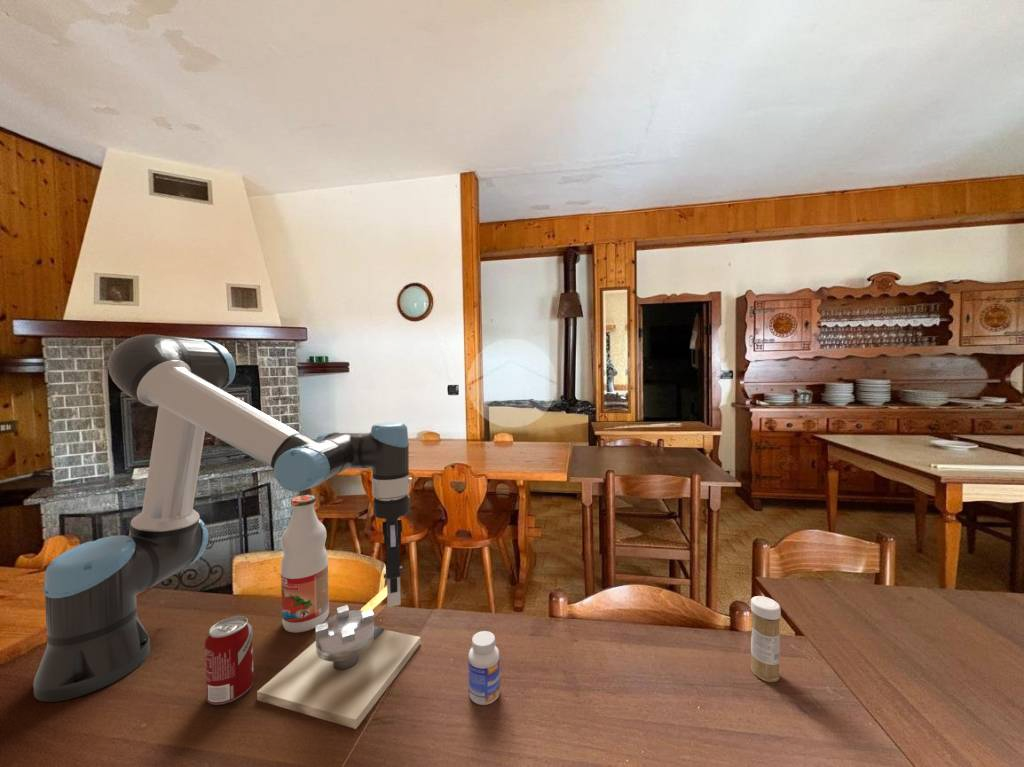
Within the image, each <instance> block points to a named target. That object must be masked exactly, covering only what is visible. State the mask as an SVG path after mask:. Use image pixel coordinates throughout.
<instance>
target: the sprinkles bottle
mask: <svg viewBox="0 0 1024 767" xmlns="http://www.w3.org/2000/svg"><path fill="white" fill-rule="evenodd" d="M781 609H782V608H781V606H780V604H779V603H778V601H775V600H774V599H772V598H770V597H767V596H762V595H757V596H753V597H752V598H751V599H750V610H751V636H750V642H751V643H750V652H751V663H750V669H751V671H752V673H753V674H754V676H756V677H757V678H758V679H760V680H762V681H765V682H767V683H776V682H778V681H779V680H780V661H781V660H780V658H781V655H780V652H781V651H780V647H781V646H780V645H781V640H780V639H781V633H780V619H781V615H782V614H781Z"/></svg>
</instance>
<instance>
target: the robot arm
mask: <svg viewBox="0 0 1024 767" xmlns="http://www.w3.org/2000/svg"><path fill="white" fill-rule="evenodd" d="M107 362H108V365H107V367H108V368H107V369H108V374H109V376H110V378H111V380H112V382H113V383H114V384H115V385H116V386H117V388H119V389H120V390H121V391H122V392H123V393H124V394H126V395H127V396H129V397H131V398H132V399H134V400H136V401H138V402H140V403H141V404H144V405H146V406H147V407H158V408H157V413H156V414H157V415H156V420H155V427H154V434H153V438H152V447H151V452H150V454H151V455H150V458H149V466H148V471H147V478H146V484H145V485H146V486H145V491H144V497H143V504H142V508H141V509H142V510H141V512H139V513H138V514H137V515H135V516H134V517H132V519H131V521H130V525H129V533H128V535H118V534H117V535H109V536H105V537H101V538H98V539H96V540H94V541H93V540H90V541H89V540H88V541H86V542H84V543H81V544H79V545H76V546H74V547H72V548H69V549H67V550H66V551H64V552H62V553H61V554H59V555H57V556H56V557H55V558H53V560H51V562H50V563H48V564H47V567H46V570H45V572H44V584H43V587H42V592H43V594H44V600H45V622H46V623H45V625H46V644H47V645H46V648H45V650H44V653H43V656H42V657H41V658H42V659H41V661H40V664H39V666H38V668H37V671H36V673H35V676H34V678H33V683H32V685H33V696H34V699H36V700H37V701H39V702H43V703H44V702H46V703H53V702H54V703H56V702H64V701H68V700H71V699H76V698H79V697H82V696H85V695H88V694H91V693H93V692H96V691H98V690H101V689H102V688H105V687H107V686H109V685H111V684H114V683H115V682H117V681H119V680H120V679H123V678H124V677H126V676H127V675H129V674H130V673H132V672H133V671H135V670H136V669H137V668H139V666H140V665H142V664H143V663H144V662H145V661H146V659H147V658H148V657H149V655H150V653H151V639H150V636H149V635H148V632H147V631H146V629H145V627H144V625H143V623H142V622H141V620H140V619H139V616H138V612H137V611H138V610H137V607H138V606H137V596H138V595H140V594H141V593H143V592H145V591H147V590H149V589H151V588H152V587H154V586H155V585H157V584H159V583H160V582H163V581H165V580H166V579H169V578H170V577H172V576H174V575H176V574H179V573H181V572H183V571H184V570H186V568H189V566H191V565H192V564H194V563H195V562H196V561H198V560H199V559H200V558H201V557H202V555H203V554H204V552H205V550H206V548H207V546H208V541H209V532H208V528H206V527H205V522H204V521H203V520H202V519H201V517H200V513H199V512H197V511H196V510H195V509H194V501H195V496H196V490H197V484H198V477H199V470H200V465H201V460H202V459H201V458H202V453H203V446H204V440H205V434H206V433H208V434H211V435H212V436H214V437H216V438H217V439H219V440H221V441H223V442H224V443H226V444H228V445H230V446H232V447H234V448H235V449H237V450H239V451H241V452H242V453H244V454H246V455H248V456H250V457H251V458H253V459H255V460H257V461H258V462H261V463H262V464H264V465H266V466H268V467H270V468H272V469H273V473H274V478H275V480H277V482H278V483H279V486H280V487H281V488H283V489H285V490H286V491H290V492H293V493H294V492H295V493H296V492H303V491H307V490H309V489H311V488H316V487H317V486H320V485H321V484H323V483H324V482H325V481H327V480H328V479H330V478H332V477H335V476H337V475H338V474H340V473H342V472H344V471H347V470H350V469H371V473H372V475H371V484H372V488H371V490H372V496H373V499H372V505H373V506H372V509H373V511H372V513H373V516H374V517H375V518H376V519H381V520H382V519H383V520H384V521H382V534H383V546H384V547H386V564H385V565H386V572H387V573H384V574H383V580H384V579H386V586H387V608H389V607H395V606H401V598H402V597H401V571H403V565H400V564H401V562H400V553H401V552H400V546H401V544H402V532H403V523H402V518H400V517H404V516H406V515H407V514H409V512H410V510H411V503H410V502H411V501H410V499H411V498H410V495H409V492H410V483H413V479H412V477H410V474H409V473H410V469H409V468H410V466H409V464H410V460H409V457H410V456H409V454H410V453H409V449H410V443H409V434H408V427H407V425H406V424H405V423H403V422H381V423H375V424H373V425H372V426H371V429H370V430H371V431H370V432H366V433H365V432H364V433H362V432H361V433H360V432H359V433H358V432H355V433H354V432H351V433H350V432H342V433H341V432H334V431H333V432H331V433H321V434H320V435H318V436H317V437H316V439H314V440H313V439H311V438H310V437H308V436H306V435H304V434H302V433H301V432H298V431H296V430H295V429H293V428H291V427H289V426H288V425H287V424H284V423H282V422H281V421H279V420H277V419H275V418H273V417H271V416H270V415H268V414H266V413H265V412H263V411H261V410H259V409H258V408H256V407H254V406H252V405H250V404H248V403H247V402H245V401H243V400H241V399H239V398H238V397H236V396H234V395H232V394H230V393H228V392H227V391H226V390H223V389H226V388H227V387H228V386H229V385H231V384H232V383H233V381H234V379H235V377H236V376H235V375H236V363H235V360H234V357H233V356H232V354H231V353H230V352H229V351H228V349H227V348H226V347H225V346H223V345H222V344H221V343H218V342H216V341H212V340H208V339H203V338H196V337H187V336H186V337H184V336H172V335H162V334H150V333H148V334H140V335H136V336H133V337H130V338H127V339H125V340H123V341H122V342H120V343H119V344H118V345H117V346H116V347H115V348H114V349H113V350H112V352H111V353H110V355H109V358H108V361H107Z"/></svg>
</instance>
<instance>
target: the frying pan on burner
mask: <svg viewBox="0 0 1024 767" xmlns="http://www.w3.org/2000/svg"><path fill="white" fill-rule="evenodd" d="M386 606H387V585H385V587H384V588H383V589H382V590H380V591H379V592H378V593H377V594H376V595H374V597H373V598H371V599H370V600H369V601H368V602H367V603H365V605H364V606H362V607H361V609H358V610H353V609H352V610H350V609H349V608H350V607H349V606H348V604H346V605H343V606H342V605H341V606H339V607H336V614H333V615H331V616H330V617H327V619H326V620H325V621H324V622H323V623H322V624H319V625H316V626H315V628H314V630H315V632H314V633H315V641H316V653H317V655H318V657H319V658H321V659H323V660H325V661H332V662H335V661H343V660H347V659H350V658H352V657H355V656H357V655H359V654H360V653H362V652H363V651H365V650H366V649H367V648H368V647H369V646H370V645H371V643H372V641H373V639H374V626H375V617H377V616H378V615H379V614H380V613H381V612H382V610H384V609H385V608H386Z"/></svg>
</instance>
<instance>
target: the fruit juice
mask: <svg viewBox="0 0 1024 767" xmlns="http://www.w3.org/2000/svg"><path fill="white" fill-rule="evenodd" d="M315 505H316V495H312V494H305V495H298V496H296V497H293V498H291V499H290V508H291V509H292V512H291V517H290V520H289V523H288V525H287V526H286V527H285V529H284V530H283V532H282V534H281V538H280V545H281V549H282V552H283V556H282V557H281V562H280V580H281V581H280V583H281V584H280V586H281V590H280V591H281V619H282V620H281V622H282V626H283V628H284V631H287V632H290V633H304V632H308V631H311V630H313V629H315V626H316V625H319V624H322V623H323V622H324V621H325V620H327V619H328V618H329V617H328V616H329V612H330V599H329V598H330V595H329V592H330V590H329V589H330V588H329V558H328V557H329V556H328V551H327V549H326V546H325V544H326V540H327V537H328V536H327V529H326V527H325V525H324V524H323V523H322V521H320V520H319V518H318V515H317V512H316V510H315Z"/></svg>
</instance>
